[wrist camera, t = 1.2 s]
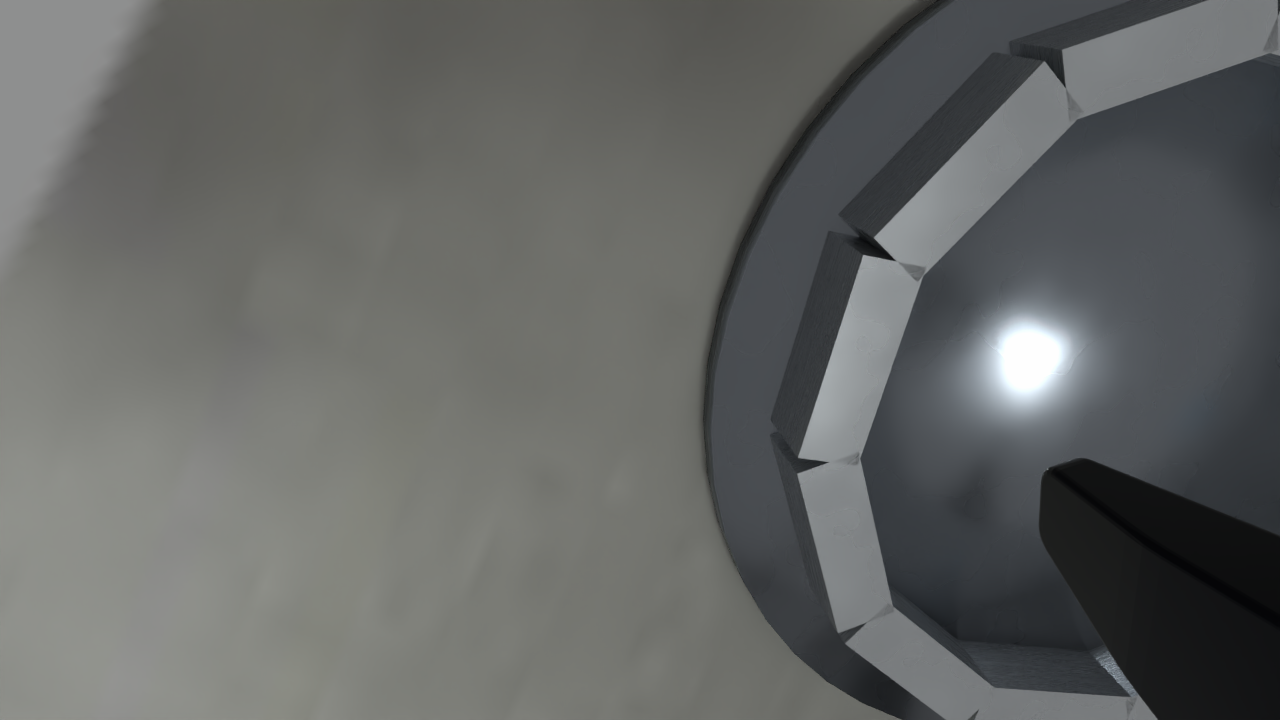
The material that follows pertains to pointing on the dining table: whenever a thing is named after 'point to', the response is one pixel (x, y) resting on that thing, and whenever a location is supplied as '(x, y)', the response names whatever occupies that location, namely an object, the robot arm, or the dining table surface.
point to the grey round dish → (999, 338)
